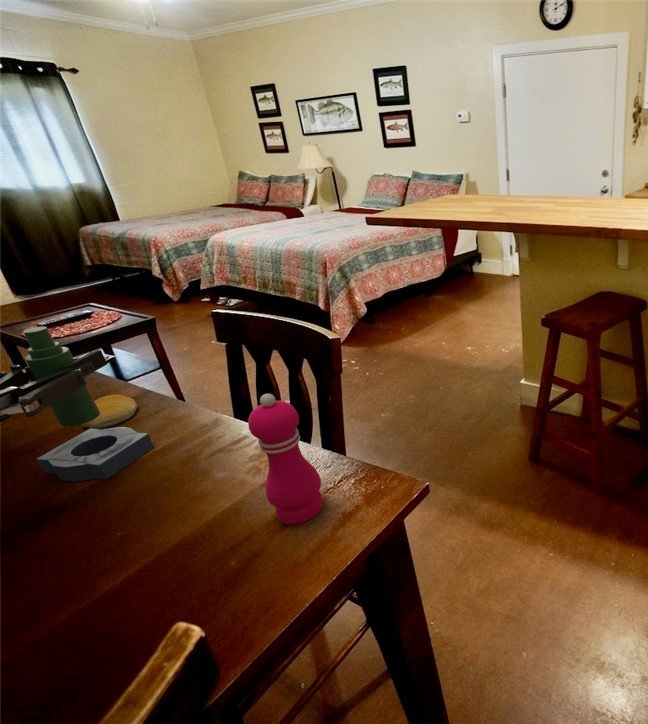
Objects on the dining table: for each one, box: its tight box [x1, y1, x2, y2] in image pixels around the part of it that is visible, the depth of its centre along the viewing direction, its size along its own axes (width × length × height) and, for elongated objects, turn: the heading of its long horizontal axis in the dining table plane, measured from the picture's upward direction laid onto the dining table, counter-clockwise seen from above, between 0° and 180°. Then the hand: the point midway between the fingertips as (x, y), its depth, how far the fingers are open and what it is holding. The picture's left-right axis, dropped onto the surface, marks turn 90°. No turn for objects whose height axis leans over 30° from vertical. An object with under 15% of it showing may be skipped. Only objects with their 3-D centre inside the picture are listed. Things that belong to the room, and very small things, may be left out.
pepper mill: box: [247, 393, 324, 525], centre depth 67 cm, size 7×7×20 cm
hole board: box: [36, 426, 155, 483], centre depth 82 cm, size 12×11×3 cm
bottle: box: [22, 326, 100, 428], centre depth 75 cm, size 5×5×16 cm
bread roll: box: [80, 394, 138, 429], centre depth 94 cm, size 8×9×4 cm
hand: (84, 357), depth 80 cm, fingers closed on bottle, 5 cm apart
